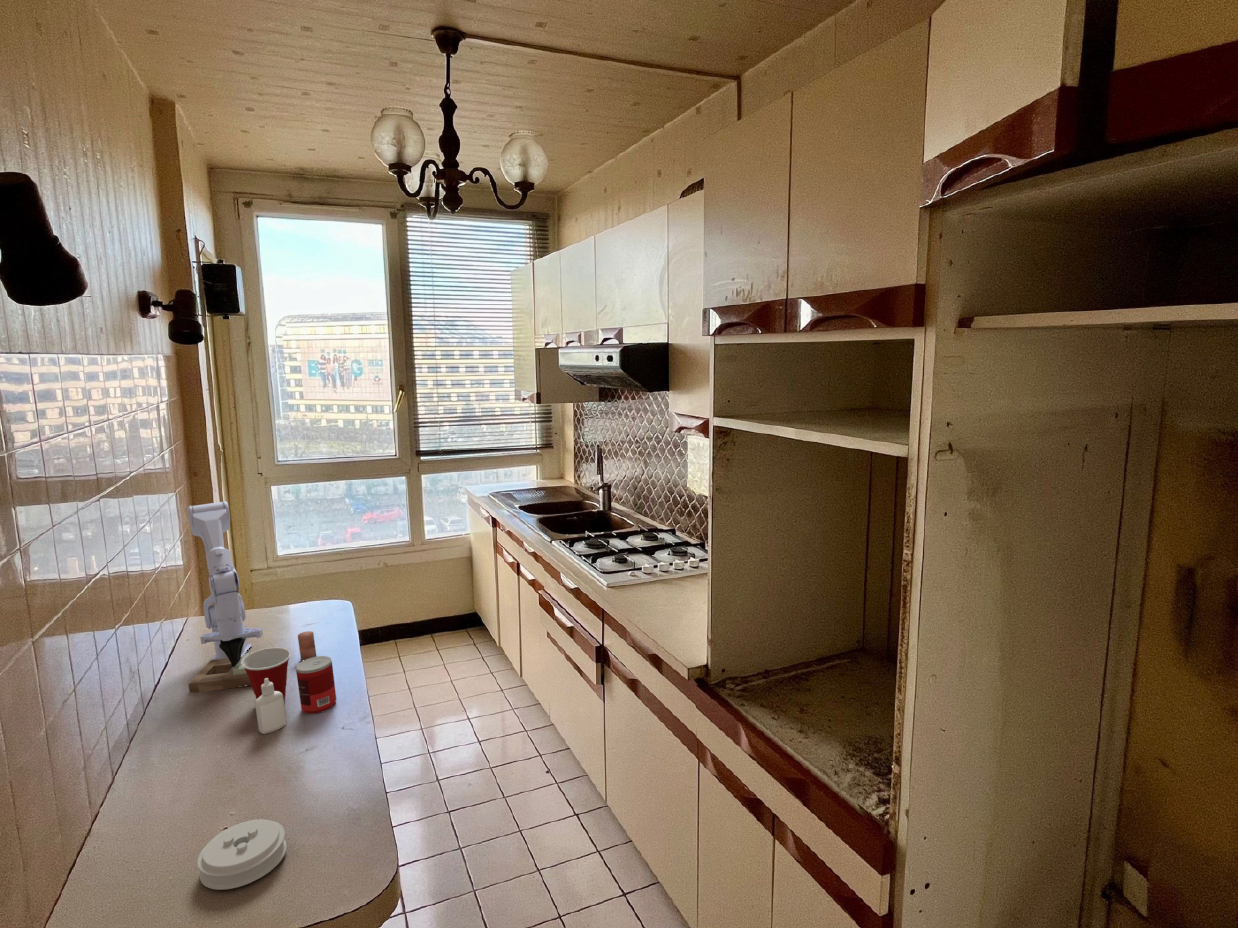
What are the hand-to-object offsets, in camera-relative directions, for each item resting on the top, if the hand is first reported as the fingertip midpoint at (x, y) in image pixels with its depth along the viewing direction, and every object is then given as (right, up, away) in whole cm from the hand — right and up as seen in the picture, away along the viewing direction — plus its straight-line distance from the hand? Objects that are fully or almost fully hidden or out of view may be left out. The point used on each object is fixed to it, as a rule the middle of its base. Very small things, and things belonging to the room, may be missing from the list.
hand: (236, 665), depth 183 cm
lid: (+40, -13, -69) cm, 81 cm away
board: (0, -3, +1) cm, 3 cm away
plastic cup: (+17, -5, -15) cm, 23 cm away
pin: (+15, -1, +10) cm, 18 cm away
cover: (+5, 0, +1) cm, 5 cm away
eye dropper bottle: (+23, -7, -27) cm, 36 cm away
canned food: (+30, -5, -18) cm, 35 cm away
